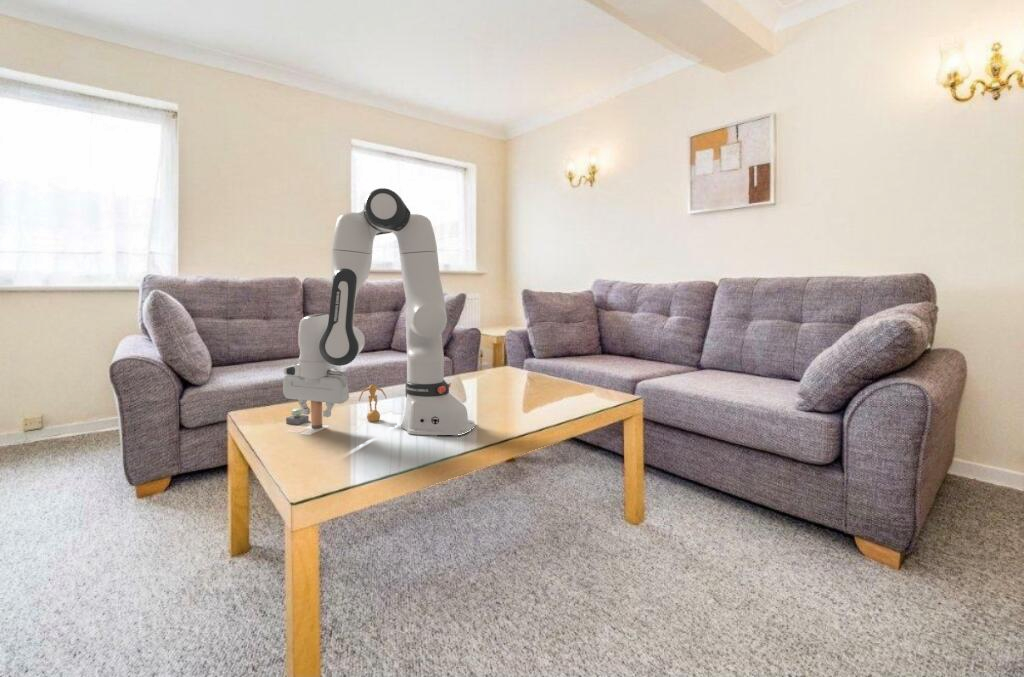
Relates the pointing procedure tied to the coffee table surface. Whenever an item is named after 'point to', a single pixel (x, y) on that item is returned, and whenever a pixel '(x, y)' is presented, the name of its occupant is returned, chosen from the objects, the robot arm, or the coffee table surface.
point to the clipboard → (303, 428)
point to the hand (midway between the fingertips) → (316, 415)
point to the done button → (296, 412)
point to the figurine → (373, 414)
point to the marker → (316, 414)
